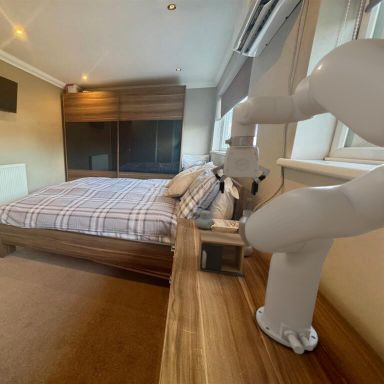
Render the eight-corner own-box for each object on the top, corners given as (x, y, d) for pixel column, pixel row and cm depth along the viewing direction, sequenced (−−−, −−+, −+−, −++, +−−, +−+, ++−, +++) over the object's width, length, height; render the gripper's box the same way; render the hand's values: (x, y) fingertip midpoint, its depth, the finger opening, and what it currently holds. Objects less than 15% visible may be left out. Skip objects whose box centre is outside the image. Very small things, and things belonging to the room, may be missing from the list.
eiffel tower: (256, 234, 111) (262, 190, 106) (256, 241, 102) (261, 193, 97) (235, 230, 116) (239, 188, 112) (232, 237, 108) (237, 191, 103)
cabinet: (243, 276, 74) (246, 246, 72) (199, 270, 78) (201, 241, 76) (235, 260, 85) (238, 233, 82) (198, 256, 89) (199, 230, 87)
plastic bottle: (247, 250, 93) (252, 208, 89) (254, 258, 87) (260, 213, 83) (232, 250, 94) (236, 208, 90) (239, 257, 87) (243, 213, 83)
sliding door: (222, 276, 73) (224, 250, 71) (200, 273, 75) (202, 248, 73) (220, 269, 77) (222, 245, 75) (200, 266, 79) (201, 242, 77)
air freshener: (205, 223, 128) (206, 208, 127) (216, 227, 121) (217, 211, 119) (192, 227, 123) (193, 211, 121) (203, 231, 116) (205, 214, 114)
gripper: (215, 143, 66) (211, 194, 69) (277, 142, 60) (270, 197, 64) (213, 143, 73) (209, 190, 76) (269, 142, 67) (262, 192, 71)
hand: (237, 193), depth 70 cm, fingers open, 9 cm apart
